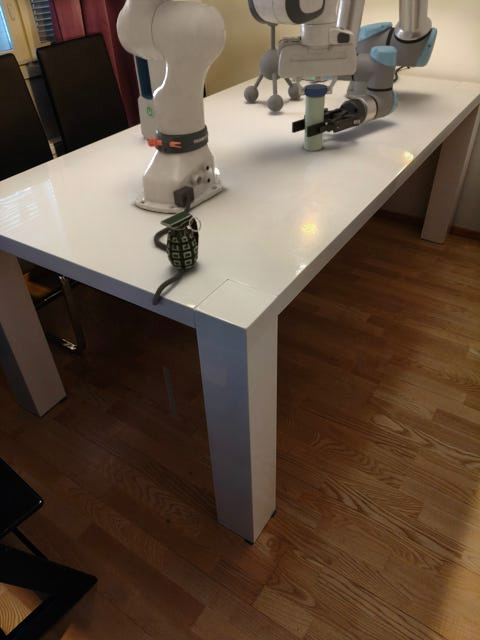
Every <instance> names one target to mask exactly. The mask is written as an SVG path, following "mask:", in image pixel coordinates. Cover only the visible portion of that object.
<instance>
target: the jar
mask: <svg viewBox="0 0 480 640" xmlns="http://www.w3.org/2000/svg"><path fill="white" fill-rule="evenodd" d="M325 100H326V95H324V96H319V97H310V96H306V95H305V109H304V115H305V130H304V135H303V136H304V137H303V139H304V140H303V141H304V142H303V149H304V150H306V151H311V152H314V151H320V150H322V148H323V139H324V137H323V136H324V133H321V134H318V135H315V136H312V137H307V127H308V126H311V125H314V124H317V123H320V122H323V121H324V108H325V103H326V101H325Z"/></svg>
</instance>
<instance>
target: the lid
mask: <svg viewBox="0 0 480 640" xmlns="http://www.w3.org/2000/svg"><path fill="white" fill-rule="evenodd" d="M327 86H328V85H327V84H323V83H311V84H307V85H304V87H305V95H304V96H305V97H306V96H310V97H319V96H324V95H325V96H326V95H328V94H327Z"/></svg>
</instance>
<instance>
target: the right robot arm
mask: <svg viewBox="0 0 480 640" xmlns="http://www.w3.org/2000/svg"><path fill="white" fill-rule="evenodd" d="M365 4H366V0H338V2H337V8H336V17H337V27H341V28H343V29H346V30H349V31H351V32H352V33H353V34H354V42H353V43H352V44H353V45H354V46H355V48H356V54H357V68H356V71H355V73H354V74H353V75H338V77H337V81H340V82H341V81H343V82H349V83H348V86H347V89H346V97H347V98H348V99H347V100H345V101H344V102H343V103H342V104H341V105H340V107H337V108H335V109H331V110H329V108H328V107H324V121H323V122H320V123H317V124H314V125H311V126H308V127H307V137H312V136H315V135H318V134H321V133H323V134H324V133H330V132H332V133H334V134H336V133H341V132H342V131H345V130H348V129H351V128H355V127H359V126H363V125H364V124H365V123H368V122H371V121H375V120H378V119H381V118H385V117H388V116H389V115H391V114H393V113H394V112H395V111H396V109H397V108H398V105H399V98H398V94H397V92H396V91H395V90H394V88H393V87H394V83H395V82H396V81H397V80H398V78H399V75H398V72H399V71H400V70H402V69H404V68H407V69H410V68H413V69H414V68H424V67H426V66H427V65H428V63H429V62H430V60H431V56H432V53H433V50H434V48H435V44H436V40H437V35H438V28H436V27H434V26H433V24H432V23H433V21H432V19H431V18H430V17H429V16H428V11H429V8H428V7H429V0H398V21H397V22H396V24H395V26H393V22H392V21H382V22H381V21H380V22H374V23H371V24H366V25H362V19H363V14H364V8H365ZM361 25H362V26H361ZM396 67H397V68H396ZM322 77H323V78H324V79H327V80H331V81H332V79H331V76H322ZM301 131H305V114H303V118H302V119H299V120H295V121H292V122H291V133H293V134H295V133H298V132H301Z"/></svg>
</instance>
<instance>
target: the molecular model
mask: <svg viewBox="0 0 480 640" xmlns="http://www.w3.org/2000/svg"><path fill="white" fill-rule="evenodd" d="M266 25H267V26H268V27H270V49H267V50H266V51H264V53H263V54H262V55H261V57H260V59H259V65H258V66H259V71H260V74H259V75H258V77H257V79H256V81H255V83H254V84H253V85H248V86H247V87H246V88H245V89H244V91H243V97H244V99H245V101H247V102H248V103H254V102H256V101H257V100H258V98H259V94H260V92H259V90H258V87H259V85H260V83H261V82H262V80H263V78H265V79H266V80H268V81H271V82H272V94H271V95H270V96H269V97H268V98H267V108H268V109H269V110H270V111H271V112H273V113H277V112H280V111H281V110H282V109H283V107H284V99H283V97H282V96H281V95H280V94H278V80H279V79H282V78H281V77H280V76H279V75H278V63H279V56H278V55H277V48H276V27H278V25H279V24H276V23H274V24H266ZM283 79H284V81H285V82H286V84H287V86H288V89H287V94H288V97H289V98H290V99H292V100H298V99H300V98H301V97H302V95H301V96H299V87H298V85H297V83H296V82H294V83H293V82H292V80H291V78H283ZM301 87H303V86H302V85H301Z"/></svg>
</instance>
